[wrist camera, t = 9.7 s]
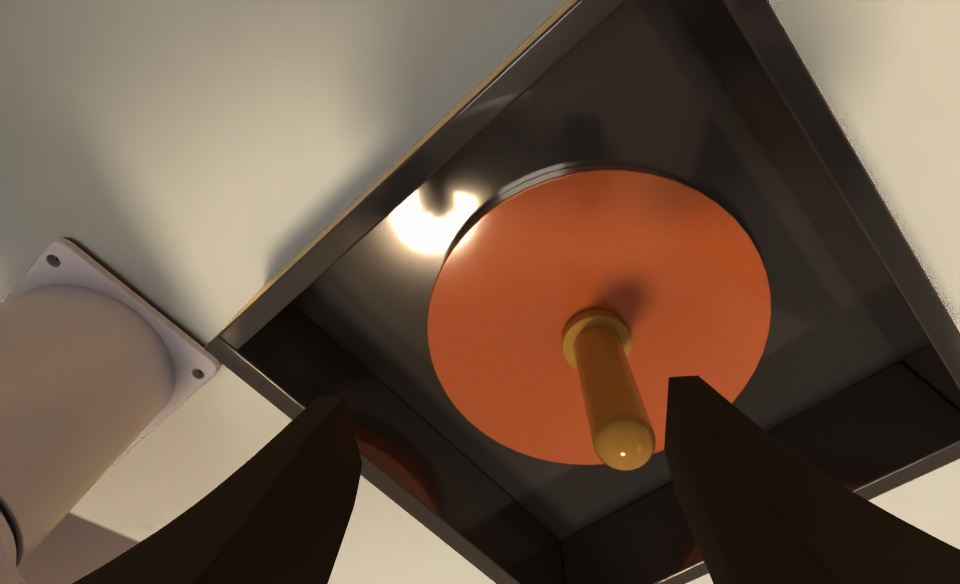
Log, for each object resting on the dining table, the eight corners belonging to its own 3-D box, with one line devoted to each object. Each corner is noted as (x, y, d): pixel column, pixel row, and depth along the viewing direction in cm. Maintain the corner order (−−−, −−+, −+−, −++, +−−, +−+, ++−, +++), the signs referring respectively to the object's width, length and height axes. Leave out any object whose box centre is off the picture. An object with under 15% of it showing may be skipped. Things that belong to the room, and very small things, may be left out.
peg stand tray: (556, 545, 28) (565, 639, 23) (262, 286, 22) (202, 348, 18) (917, 353, 22) (1018, 433, 17) (648, -76, 16) (701, -116, 12)
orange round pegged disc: (561, 493, 25) (580, 657, 19) (363, 308, 21) (298, 433, 15) (822, 345, 21) (966, 488, 14) (636, 80, 17) (716, 111, 11)
